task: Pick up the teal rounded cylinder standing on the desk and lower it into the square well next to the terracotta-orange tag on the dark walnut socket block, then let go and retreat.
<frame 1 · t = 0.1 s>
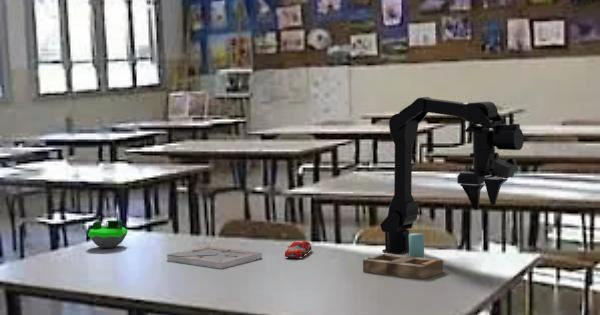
hand: (484, 207, 253), 15 cm above the table, fingers open, 9 cm apart
teal rounded cylinder: (416, 263, 254), on the table
socket block: (402, 271, 245), on the table
green grey rounded piece: (108, 248, 295), on the table
race car: (298, 256, 272), on the table
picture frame: (214, 262, 270), on the table
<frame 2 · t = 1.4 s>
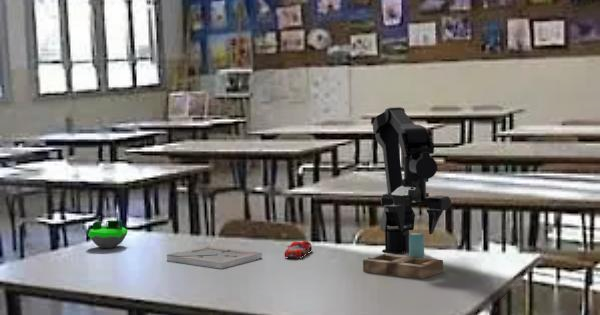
hand: (416, 232, 254), 8 cm above the table, fingers open, 9 cm apart
nothing on the table moved.
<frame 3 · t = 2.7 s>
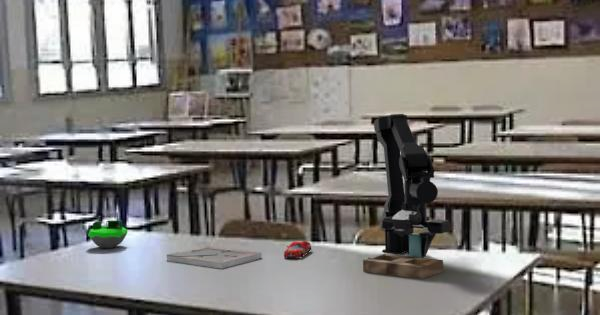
hand: (416, 256, 254), 2 cm above the table, fingers closed on teal rounded cylinder, 4 cm apart
teal rounded cylinder: (416, 263, 254), on the table, touching gripper
everything else where it was.
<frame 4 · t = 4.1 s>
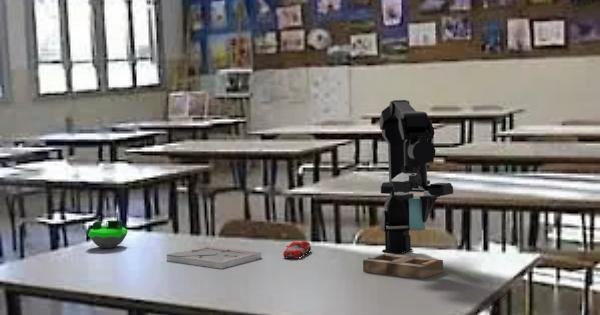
hand: (417, 221, 245), 13 cm above the table, fingers closed on teal rounded cylinder, 4 cm apart
teal rounded cylinder: (417, 229, 245), point 11 cm above the table, touching gripper
everything else where it was.
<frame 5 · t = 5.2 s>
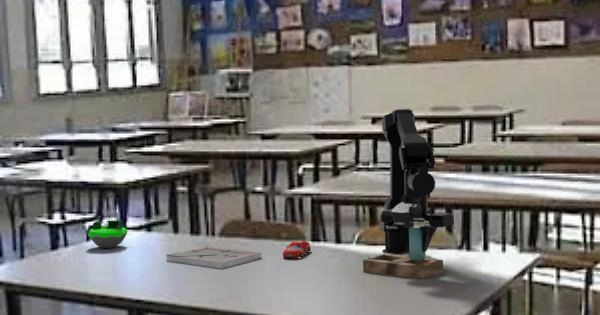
hand: (417, 251, 242), 6 cm above the table, fingers closed on teal rounded cylinder, 4 cm apart
teal rounded cylinder: (417, 258, 242), point 4 cm above the table, touching gripper
everything else where it was.
when the fingers open (4 cm above the table, at t = 5.9 s): teal rounded cylinder drops 2 cm, resting in socket block.
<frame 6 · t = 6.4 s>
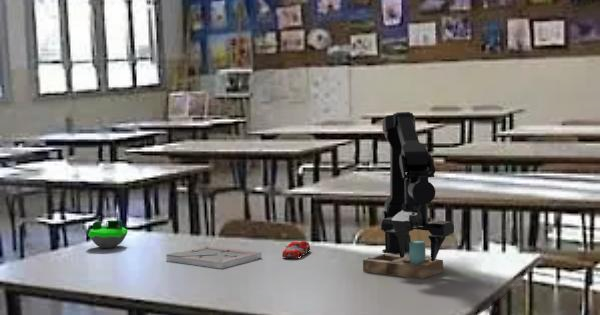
hand: (417, 259, 242), 4 cm above the table, fingers open, 9 cm apart
teal rounded cylinder: (417, 273, 243), resting in socket block
everything else where it was.
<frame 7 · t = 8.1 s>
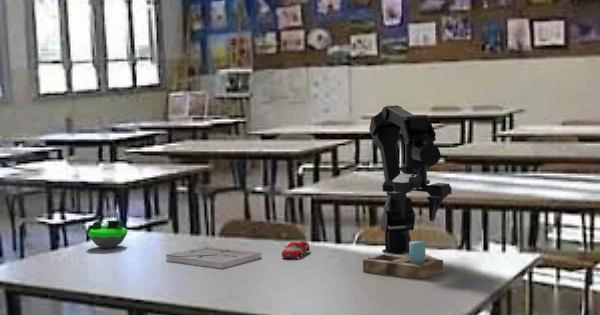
hand: (416, 219, 256), 12 cm above the table, fingers open, 9 cm apart
nothing on the table moved.
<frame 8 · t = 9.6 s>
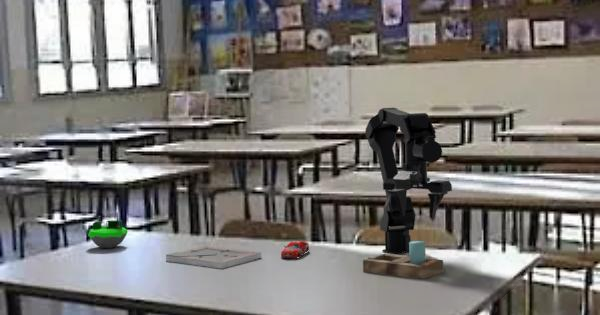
hand: (417, 216, 258), 12 cm above the table, fingers open, 9 cm apart
nothing on the table moved.
at the end: teal rounded cylinder 0.0 cm from the target spot on the socket block, point 0.0 cm above the socket block's base; teal rounded cylinder tilted 0°; the gripper is holding nothing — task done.
